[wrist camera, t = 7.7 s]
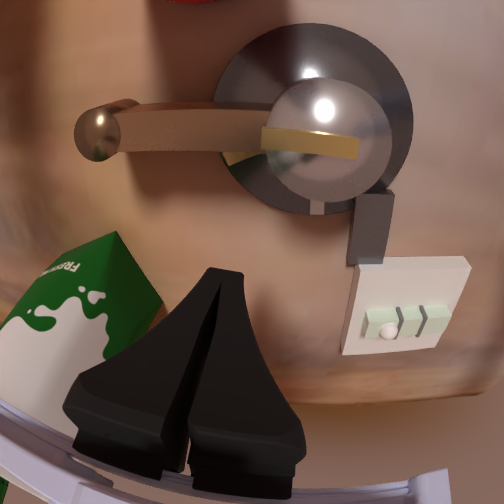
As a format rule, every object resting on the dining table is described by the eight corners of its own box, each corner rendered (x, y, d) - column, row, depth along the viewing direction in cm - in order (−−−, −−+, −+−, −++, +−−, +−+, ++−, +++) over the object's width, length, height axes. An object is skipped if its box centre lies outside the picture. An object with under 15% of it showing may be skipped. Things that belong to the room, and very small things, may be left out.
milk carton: (118, 215, 19) (-47, 490, 3) (178, 308, 24) (105, 552, 8) (51, 248, 22) (-74, 438, 5) (106, 321, 26) (28, 505, 10)
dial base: (410, 36, 11) (418, 34, 10) (390, 257, 19) (394, 266, 18) (205, 31, 12) (200, 28, 11) (231, 258, 20) (228, 268, 20)
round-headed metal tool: (369, 85, 13) (404, 94, 9) (356, 173, 15) (381, 213, 12) (109, 80, 13) (56, 91, 9) (115, 160, 16) (71, 193, 12)
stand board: (463, 255, 18) (483, 285, 16) (430, 334, 24) (440, 364, 21) (356, 257, 20) (366, 291, 17) (340, 341, 25) (344, 374, 22)
